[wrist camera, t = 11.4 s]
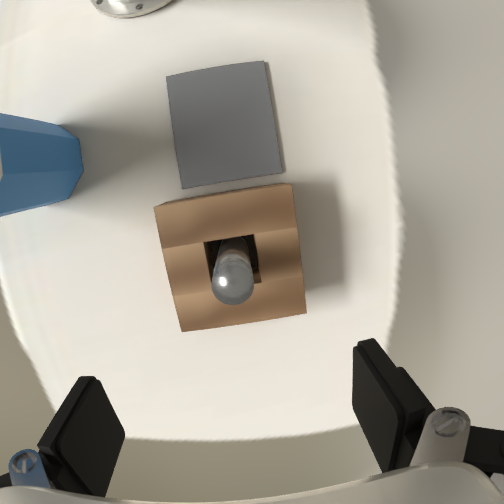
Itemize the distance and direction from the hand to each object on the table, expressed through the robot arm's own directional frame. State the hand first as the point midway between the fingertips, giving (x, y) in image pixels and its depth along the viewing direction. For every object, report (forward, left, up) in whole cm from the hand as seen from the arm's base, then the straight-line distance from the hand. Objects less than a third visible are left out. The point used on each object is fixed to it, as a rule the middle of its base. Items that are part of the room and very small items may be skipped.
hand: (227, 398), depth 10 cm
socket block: (0, 0, -24) cm, 24 cm away
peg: (0, 0, -24) cm, 24 cm away
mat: (-13, +1, -24) cm, 27 cm away
